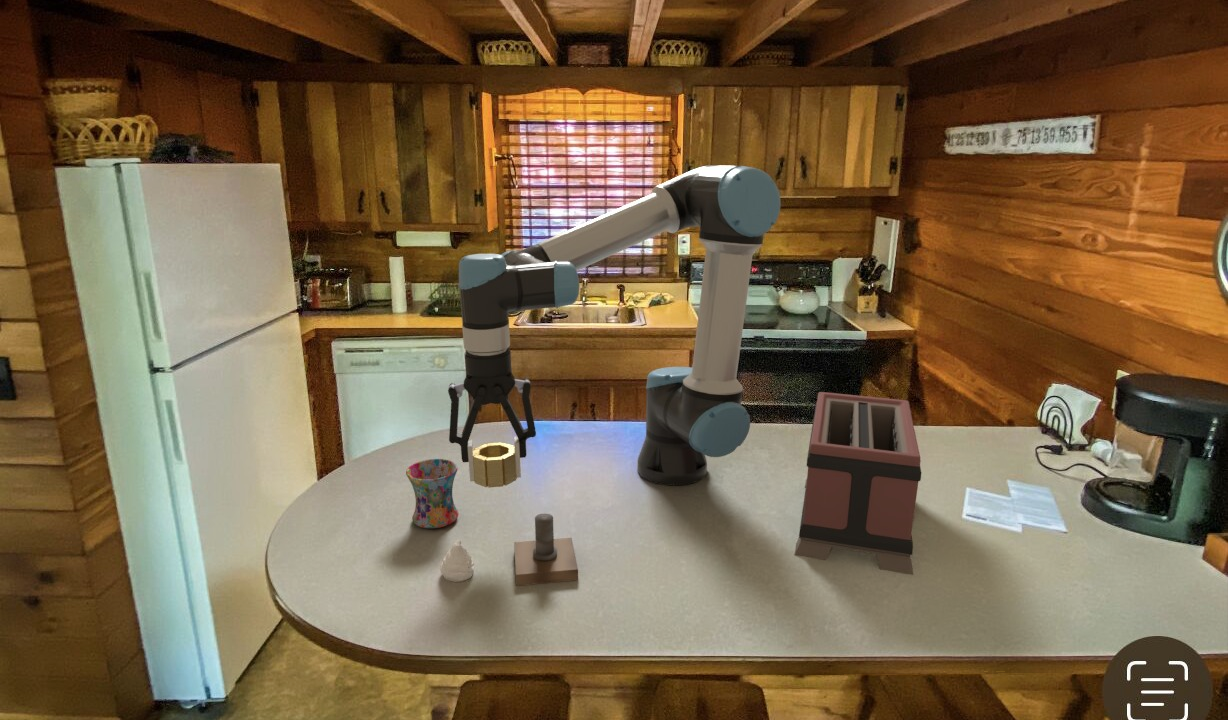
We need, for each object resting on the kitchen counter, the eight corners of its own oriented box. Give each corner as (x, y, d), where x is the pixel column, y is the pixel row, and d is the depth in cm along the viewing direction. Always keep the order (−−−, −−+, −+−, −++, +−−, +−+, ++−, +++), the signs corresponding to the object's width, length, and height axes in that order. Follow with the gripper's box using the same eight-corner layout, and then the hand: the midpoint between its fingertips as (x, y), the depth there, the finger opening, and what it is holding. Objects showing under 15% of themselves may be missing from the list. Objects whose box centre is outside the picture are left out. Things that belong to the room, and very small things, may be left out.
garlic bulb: (468, 551, 115) (434, 550, 115) (470, 584, 116) (437, 583, 116) (475, 533, 120) (443, 533, 120) (477, 565, 122) (445, 564, 122)
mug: (452, 534, 131) (448, 481, 128) (402, 531, 132) (398, 478, 129) (470, 503, 143) (467, 453, 140) (425, 501, 143) (421, 451, 140)
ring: (515, 467, 129) (514, 441, 128) (517, 485, 122) (515, 458, 121) (475, 470, 128) (473, 444, 127) (474, 488, 121) (472, 461, 120)
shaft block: (571, 547, 127) (571, 501, 124) (578, 580, 117) (577, 530, 115) (514, 552, 125) (512, 505, 123) (516, 585, 116) (514, 535, 113)
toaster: (901, 487, 150) (913, 394, 144) (913, 575, 119) (929, 461, 113) (806, 474, 156) (814, 384, 150) (794, 555, 125) (803, 446, 119)
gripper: (546, 340, 123) (551, 462, 130) (426, 346, 120) (438, 471, 127) (550, 352, 116) (555, 480, 123) (422, 359, 113) (434, 490, 120)
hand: (495, 475), depth 125 cm, fingers closed on ring, 7 cm apart
